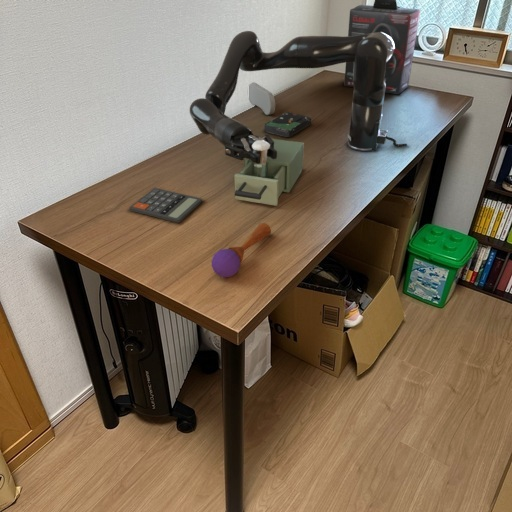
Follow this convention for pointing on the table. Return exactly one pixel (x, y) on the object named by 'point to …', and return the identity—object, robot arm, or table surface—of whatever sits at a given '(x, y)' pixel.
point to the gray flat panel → (261, 98)
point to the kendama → (237, 253)
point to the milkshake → (263, 151)
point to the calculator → (166, 205)
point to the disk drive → (287, 124)
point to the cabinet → (288, 160)
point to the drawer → (261, 184)
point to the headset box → (397, 28)
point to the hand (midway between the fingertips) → (267, 157)
